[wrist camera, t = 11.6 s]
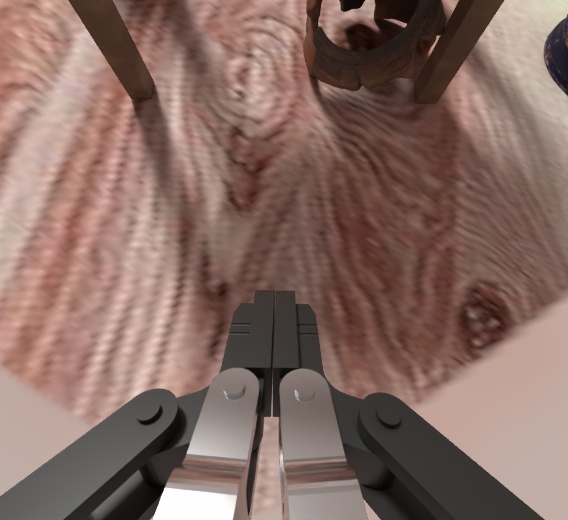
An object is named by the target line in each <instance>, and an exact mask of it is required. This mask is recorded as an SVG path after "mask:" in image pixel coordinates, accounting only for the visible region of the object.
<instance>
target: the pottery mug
mask: <svg viewBox="0 0 568 520" xmlns="http://www.w3.org/2000/svg"><path fill="white" fill-rule="evenodd" d="M339 1H340V4H341V10H342V11H343V12H346V11H349V10H351V9H358V8H360V7H361V6H362V5H363V3H364V1H365V0H339ZM321 3H322V0H307V8H306V12H307V14H308V15H307V22H306V32H307V34H306V38H305V41H304V45H303V48H304V49H303V51H304V57H305V62H306V65H307V68H308V72H309V74H310V75H311V76H312V75H313V76H314V77H315V78H317V79H318V80H320V81H322V82H324V83H327V84H329V85H332V86H334V87H338V88H341V89H347V90H351V91H358V90H359V89H360V87H361V86H362V85H363V86H365V87H366V88H368V89H369V88H373V87H376V86H378V85H380V84H382V83H384V82H386V81H389V80H391V79H395V78H401V77H402V78H412V77H413V70H414V64H415V52H416V44H417V41H418V40H419V42H420V46H421V53H422V55H426V54H427V53H428V51H429V50H430V48H431V47H432V45H433V44H434V43H435V40H436V36H437V35H441V34H442V33H443V30H444V27H445V24H446V16H445V13H444V10H443V4H442V1H441V0H375V10H374V19H375V20H379V19H396V20H398V21H401V22H403V23H406V24H407V26H406V27H405V28H404V29H403V30H402V31H401V32H400V33H398V34H397V35H396V36H395V37H393V38H392V39H391V40H389V41H388V42H386V43H385V44H383V45H381V46H379V47H377V48H374V49H371V50H366V51H357V52H356V51H351V50H346V49H343V48H341V47H338V46H337V45H335V44H334V43H333V42H332V41H330V40H329V39H328V37H327V36H326V34H325V33H324V31H323V29H322V28H321V27H318V19H319V16H320V10H321Z"/></svg>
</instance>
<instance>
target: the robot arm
mask: <svg viewBox="0 0 568 520" xmlns="http://www.w3.org/2000/svg"><path fill="white" fill-rule="evenodd" d="M274 327H275V330H274ZM272 378H273V417H279V463H280V482H281V501H282V519H283V520H368V517H367V513H366V509H365V505H364V502H363V499H364V500H365V501H366V502H367V503H368V505H369V506H370V507H371V508H372V509H373V511H374V512H375V513H376V514H377V515H378V517H379V518H380V519H381V520H544V519H543V518H542V517H540V515H538V514H537V513H536V512H535V511H534V510H532V509H531V508H530V507H529V506H528V505H526V504H525V503H524V502H523V501H522V500H520V499H519V498H518V497H517V496H515V495H514V494H513V493H512V492H511V491H509V490H508V489H507V488H506V487H504V485H502V484H501V483H500V482H499V481H498V480H496V479H495V478H494V477H493V476H491V475H490V474H489V473H488V472H486V471H485V470H484V469H483V468H482V467H481V466H479V465H478V464H477V463H476V462H475V461H473V460H472V459H471V458H470V457H469V456H467V455H466V454H465V453H464V452H463V451H461V450H460V449H459V448H458V447H457V446H455V445H454V444H453V443H452V442H451V441H449V440H448V439H447V438H446V437H445V436H443V435H442V434H441V433H440V432H438V431H437V430H436V429H435V428H434V427H433V426H431V425H430V424H429V423H428V422H427V421H425V420H424V419H423V418H422V417H421V416H419V415H418V414H417V413H416V412H415V411H413V410H412V409H411V408H410V407H409V406H407V405H406V404H405V403H404V402H402V401H401V400H400V399H398V398H397V397H395V396H392V395H390V394H386V393H373V394H370V395H368V396H367V397H365V398H364V400H362V399H359V398H356V397H353V396H350V395H347V394H344V393H342V392H340V391H338V390H337V389H335V388H334V387H333V386H332V385H331V384H330V383H329V382H328V381H327V379H326V377H325V375H324V372H323V366H322V359H321V352H320V344H319V337H318V330H317V323H316V316H315V313H314V311H313V310H312V309H311V307H310V306H309V304H296V303H295V291H276V307H275V291H267V290H256V292H255V299H254V304H249V303H241V305H240V306H239V307H238V308H237V309H236V311H235V312H234V314H233V319H232V323H231V327H230V332H229V336H228V341H227V345H226V349H225V354H224V358H223V362H222V367H221V370H220V373H219V374H218V375H217V376H216V377H215V378H214V379H213V381H212V382H211V384H210V385H209V386H208V387H206V388H204V389H202V390H200V391H198V392H195V393H192V394H188V395H185V396H181V397H178V398H176V397H175V395H174V394H173V393H172V392H170V391H168V390H165V389H152V390H148V391H145V392H143V393H141V394H139V395H138V396H136V397H135V398H133V399H132V400H130V401H129V402H128V403H126V404H125V405H124V406H122V407H121V408H120V409H118V410H117V411H116V412H114V413H113V414H111V415H110V416H109V417H107V418H106V419H105V420H103V421H102V422H101V423H99V424H98V425H97V426H95V427H94V428H92V429H91V430H90V431H88V432H87V433H86V434H84V435H83V436H82V437H80V438H79V439H78V440H76V441H75V442H73V443H72V444H71V445H69V446H68V447H67V448H65V449H64V450H63V451H61V452H60V453H58V454H57V455H56V456H54V457H53V458H52V459H50V460H49V461H48V462H46V463H45V464H44V465H42V466H41V467H39V468H38V469H37V470H35V471H34V472H33V473H31V474H30V475H29V476H27V477H26V478H25V479H23V480H22V481H20V482H19V483H18V484H16V485H15V486H14V487H13V488H11V489H10V490H8V491H7V492H6V493H4V494H3V495H1V496H0V520H150V519H151V518H152V517H153V516H154V515H155V516H154V519H153V520H251V515H252V508H253V500H254V493H255V486H256V478H257V471H258V464H259V457H260V449H261V440H262V437H263V427H264V417H271V401H272ZM155 513H156V514H155Z"/></svg>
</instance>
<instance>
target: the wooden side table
mask: <svg viewBox="0 0 568 520" xmlns="http://www.w3.org/2000/svg"><path fill="white" fill-rule="evenodd" d="M69 2H70V3H71V5H72V7H73V8H74V10H75V11H76V13H77V14H78V16H79V18H80V19H81V21H82V22H83V24H84V25H85V27H86V28H87V30H88V32H89V33H90V35H91V36H92V38H93V39H94V41H95V43H96V44H97V46H98V47H99V49H100V50H101V52H102V54H103V55H104V57H105V58H106V60H107V61H108V63H109V65H110V66H111V68H112V69H113V71H114V72H115V74H116V76H117V77H118V79H119V80H120V82H121V83H122V85H123V87H124V88H125V90H126V91H127V93H128V94H129V96H130V98H131V99H152V92H153V86H154V81H153V79H152V77H151V75H150V73H149V71H148V69H147V67H146V65H145V63H144V61H143V59H142V57H141V55H140V53H139V51H138V50H137V48H136V46H135V44H134V42H133V40H132V38H131V36H130V34H129V32H128V30H127V28H126V26H125V24H124V22H123V20H122V18H121V16H120V14H119V12H118V10H117V8H116V6H115V4H114V2H113V0H69ZM503 2H504V0H459V2H458V4H457V6H456V7H455V9H454V11H453V13H452V15H451V17H450V19H449V21H448V23H447V25H446V26H445V28H444V30H443V33H442V34H441V36H440V38H439V40H438V42H437V44H436V45H435V47H434V49H433V51H432V53H431V55H430V57H429V59H428V61H427V63H426V64H425V66H424V68H423V70H422V72H421V74H420V76H419V78H418V80H417V82H416V83H415V85H414V91H415V99H416V103H437V102H438V100H439V98H440V97H441V95H442V94H443V92H444V91H445V89H446V88H447V86H448V85H449V83H450V82H451V80H452V79H453V77H454V76H455V74H456V73H457V71H458V70H459V68H460V67H461V65H462V64H463V62H464V61H465V59H466V58H467V56H468V55H469V53H470V52H471V50H472V49H473V47H474V45H475V44H476V42H477V41H478V39H479V38H480V36H481V35H482V33H483V32H484V30H485V29H486V27H487V26H488V24H489V23H490V21H491V20H492V18H493V17H494V15H495V14H496V12H497V11H498V9H499V8H500V6H501V5H502V3H503Z"/></svg>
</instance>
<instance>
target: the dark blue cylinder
mask: <svg viewBox="0 0 568 520" xmlns="http://www.w3.org/2000/svg"><path fill="white" fill-rule="evenodd" d="M544 60H545V64H546V67H547V69H548V71H549V73H550V75H551V76H552V78H553V80H554V81H555V82H556V83H557V84H558V86H559V87H560V88H561V89H562V90H563V91H565V92H566V93H567V94H568V15H567V17H566V18H565V19H564V20H562V21H561V22H560V23H559V24H558V25H557V26H556V27H555V28H554V29H553V31H552V32H551V33H550V34H549V36H548V37H547V40H546V42H545V46H544Z"/></svg>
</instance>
